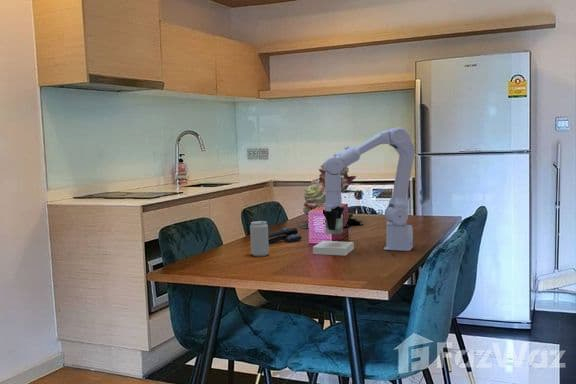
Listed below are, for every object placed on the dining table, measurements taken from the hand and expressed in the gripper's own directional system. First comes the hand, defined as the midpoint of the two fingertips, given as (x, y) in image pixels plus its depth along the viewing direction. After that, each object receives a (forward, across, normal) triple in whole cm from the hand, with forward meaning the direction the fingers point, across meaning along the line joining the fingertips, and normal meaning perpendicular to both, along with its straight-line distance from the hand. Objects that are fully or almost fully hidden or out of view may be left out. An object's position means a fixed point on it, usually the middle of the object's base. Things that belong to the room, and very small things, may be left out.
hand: (333, 228), depth 202 cm
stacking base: (+8, 0, 0) cm, 8 cm away
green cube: (+2, 0, 0) cm, 2 cm away
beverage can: (+9, +12, -24) cm, 28 cm away
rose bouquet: (+9, -55, -19) cm, 59 cm away
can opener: (+9, -13, -26) cm, 30 cm away
